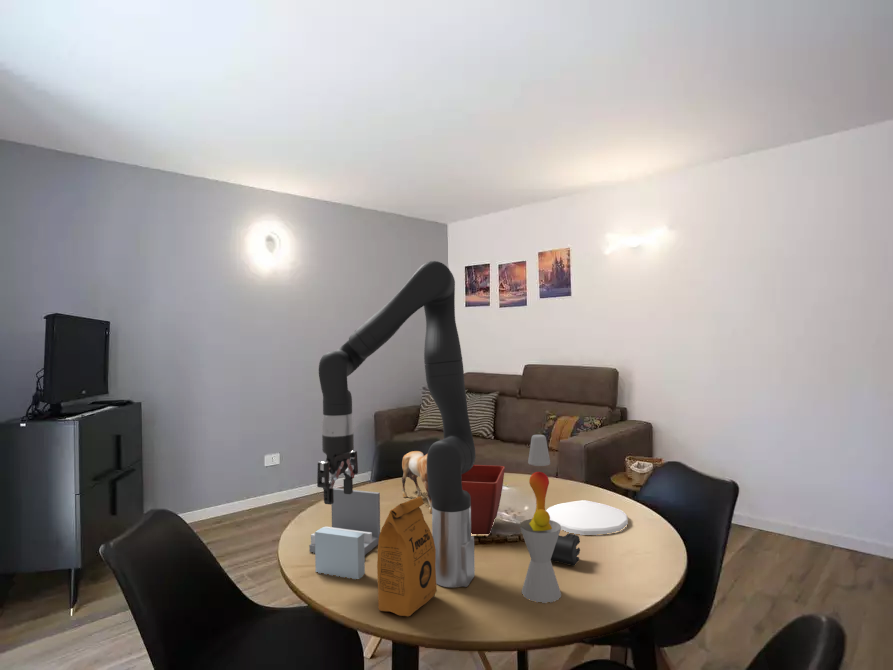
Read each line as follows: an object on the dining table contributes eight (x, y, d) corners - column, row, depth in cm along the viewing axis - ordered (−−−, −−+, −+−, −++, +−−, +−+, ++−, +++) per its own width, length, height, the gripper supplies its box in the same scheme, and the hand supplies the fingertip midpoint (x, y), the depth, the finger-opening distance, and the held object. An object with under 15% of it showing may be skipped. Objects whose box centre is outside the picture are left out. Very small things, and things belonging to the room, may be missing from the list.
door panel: (364, 574, 126) (364, 533, 126) (358, 580, 123) (357, 537, 123) (322, 567, 130) (322, 527, 130) (315, 572, 127) (315, 531, 127)
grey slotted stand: (380, 542, 145) (379, 492, 145) (358, 560, 134) (357, 505, 134) (334, 536, 150) (333, 487, 150) (309, 552, 139) (308, 500, 139)
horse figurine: (452, 514, 168) (451, 450, 168) (430, 518, 164) (429, 453, 164) (412, 489, 195) (411, 435, 195) (393, 493, 192) (392, 437, 192)
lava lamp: (517, 584, 120) (514, 432, 120) (555, 582, 120) (553, 431, 120) (525, 604, 110) (523, 440, 111) (567, 602, 111) (564, 438, 111)
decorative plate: (589, 528, 143) (528, 505, 164) (590, 544, 143) (528, 518, 164) (646, 511, 157) (583, 491, 178) (646, 525, 157) (583, 503, 178)
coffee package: (443, 598, 114) (442, 497, 114) (408, 624, 103) (406, 514, 104) (408, 586, 119) (407, 490, 119) (371, 610, 109) (369, 505, 109)
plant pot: (430, 538, 148) (429, 479, 148) (446, 515, 166) (445, 463, 166) (497, 543, 143) (496, 482, 143) (506, 520, 162) (505, 465, 162)
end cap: (534, 562, 132) (533, 535, 132) (544, 552, 138) (544, 526, 138) (572, 571, 126) (571, 543, 126) (581, 560, 132) (581, 533, 132)
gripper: (334, 438, 119) (335, 509, 119) (366, 428, 132) (367, 491, 132) (307, 436, 122) (308, 506, 122) (340, 426, 135) (341, 489, 135)
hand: (338, 498), depth 127 cm, fingers open, 8 cm apart
